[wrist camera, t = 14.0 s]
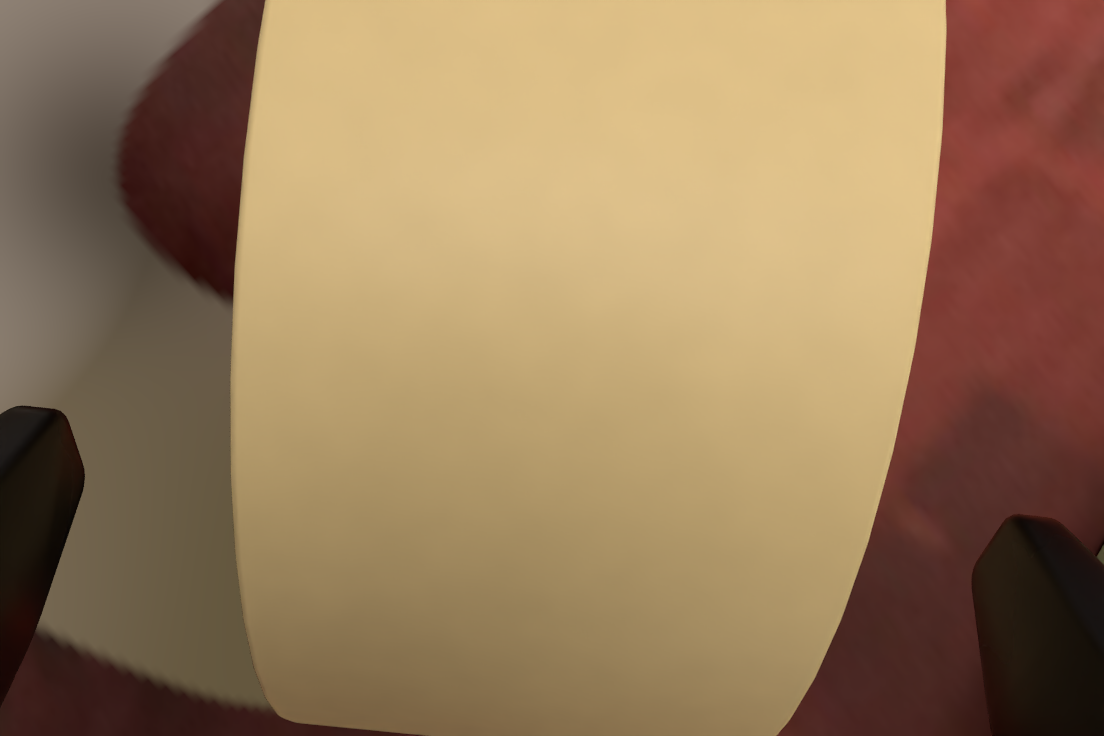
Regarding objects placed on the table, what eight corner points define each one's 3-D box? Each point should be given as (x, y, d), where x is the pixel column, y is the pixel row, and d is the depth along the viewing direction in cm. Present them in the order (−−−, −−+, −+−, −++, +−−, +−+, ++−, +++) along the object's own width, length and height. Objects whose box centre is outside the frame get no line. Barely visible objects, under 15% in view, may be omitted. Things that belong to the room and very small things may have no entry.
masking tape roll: (638, 647, 17) (894, 1020, 6) (375, 620, 16) (112, 952, 5) (697, 49, 18) (1006, -617, 7) (450, 18, 17) (356, -717, 7)
